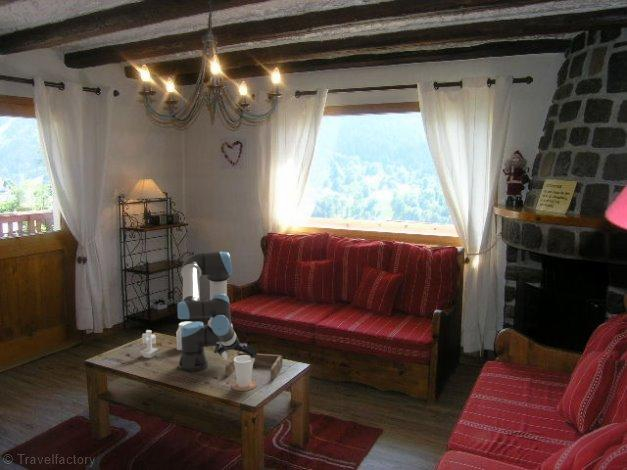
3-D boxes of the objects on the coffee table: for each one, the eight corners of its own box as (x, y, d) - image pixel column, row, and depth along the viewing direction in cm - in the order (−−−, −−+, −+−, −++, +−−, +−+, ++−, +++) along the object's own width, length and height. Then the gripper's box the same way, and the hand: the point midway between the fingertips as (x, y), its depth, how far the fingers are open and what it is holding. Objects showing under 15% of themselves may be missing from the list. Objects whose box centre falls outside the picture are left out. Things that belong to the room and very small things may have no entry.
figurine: (160, 354, 286) (159, 328, 285) (149, 360, 278) (148, 333, 276) (150, 352, 289) (149, 327, 287) (138, 358, 280) (137, 332, 278)
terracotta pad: (236, 379, 253) (236, 378, 253) (259, 381, 251) (259, 380, 250) (228, 389, 241) (228, 388, 241) (252, 391, 239) (252, 390, 239)
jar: (173, 349, 295) (172, 324, 293) (184, 344, 303) (184, 319, 301) (189, 352, 290) (188, 327, 288) (200, 347, 298) (199, 322, 296)
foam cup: (243, 378, 252) (243, 353, 250) (257, 383, 247) (257, 357, 245) (230, 385, 244) (229, 359, 243) (244, 390, 239) (243, 364, 237)
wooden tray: (237, 362, 274) (237, 352, 273) (282, 366, 270) (282, 355, 269) (226, 376, 257) (225, 364, 256) (273, 379, 252) (273, 368, 252)
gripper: (199, 344, 221) (212, 364, 238) (254, 348, 217) (263, 368, 233) (203, 329, 225) (216, 349, 242) (257, 332, 221) (266, 353, 238)
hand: (239, 358), depth 238 cm, fingers open, 13 cm apart
